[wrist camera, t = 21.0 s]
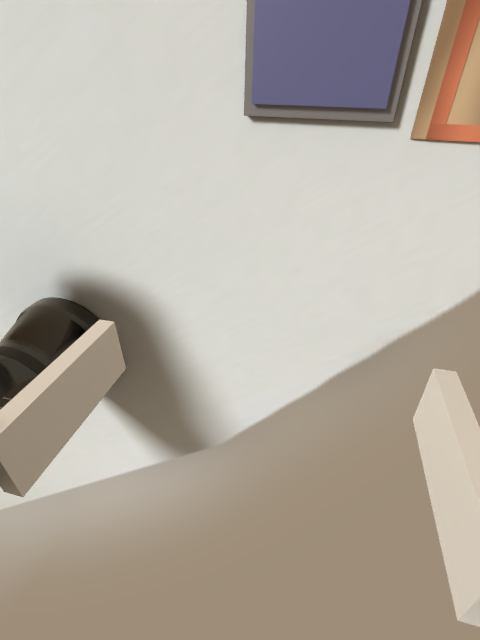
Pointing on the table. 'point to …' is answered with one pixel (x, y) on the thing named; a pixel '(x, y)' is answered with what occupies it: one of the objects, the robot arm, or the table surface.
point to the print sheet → (453, 78)
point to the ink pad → (327, 57)
